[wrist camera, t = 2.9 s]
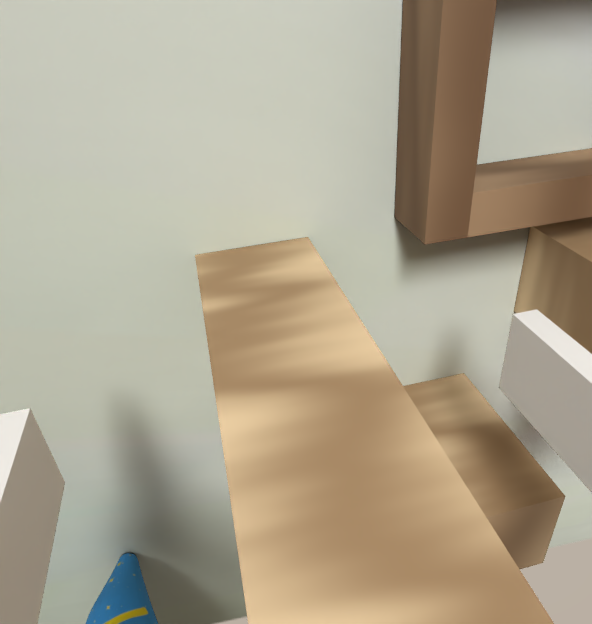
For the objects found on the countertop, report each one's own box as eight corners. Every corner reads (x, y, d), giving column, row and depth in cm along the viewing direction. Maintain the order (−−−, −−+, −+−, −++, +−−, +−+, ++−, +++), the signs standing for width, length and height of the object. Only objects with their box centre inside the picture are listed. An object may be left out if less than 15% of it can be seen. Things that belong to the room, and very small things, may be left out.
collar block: (394, 217, 18) (424, 244, 16) (407, -125, 13) (453, -149, 11) (622, 181, 20) (677, 202, 18) (713, -138, 15) (804, -162, 13)
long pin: (212, 348, 20) (329, 1091, 6) (194, 254, 17) (313, 1082, 4) (313, 329, 20) (614, 967, 7) (307, 236, 18) (730, 902, 5)
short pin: (380, 452, 25) (448, 589, 19) (382, 390, 23) (459, 524, 17) (455, 434, 26) (543, 562, 20) (463, 373, 23) (565, 496, 18)
